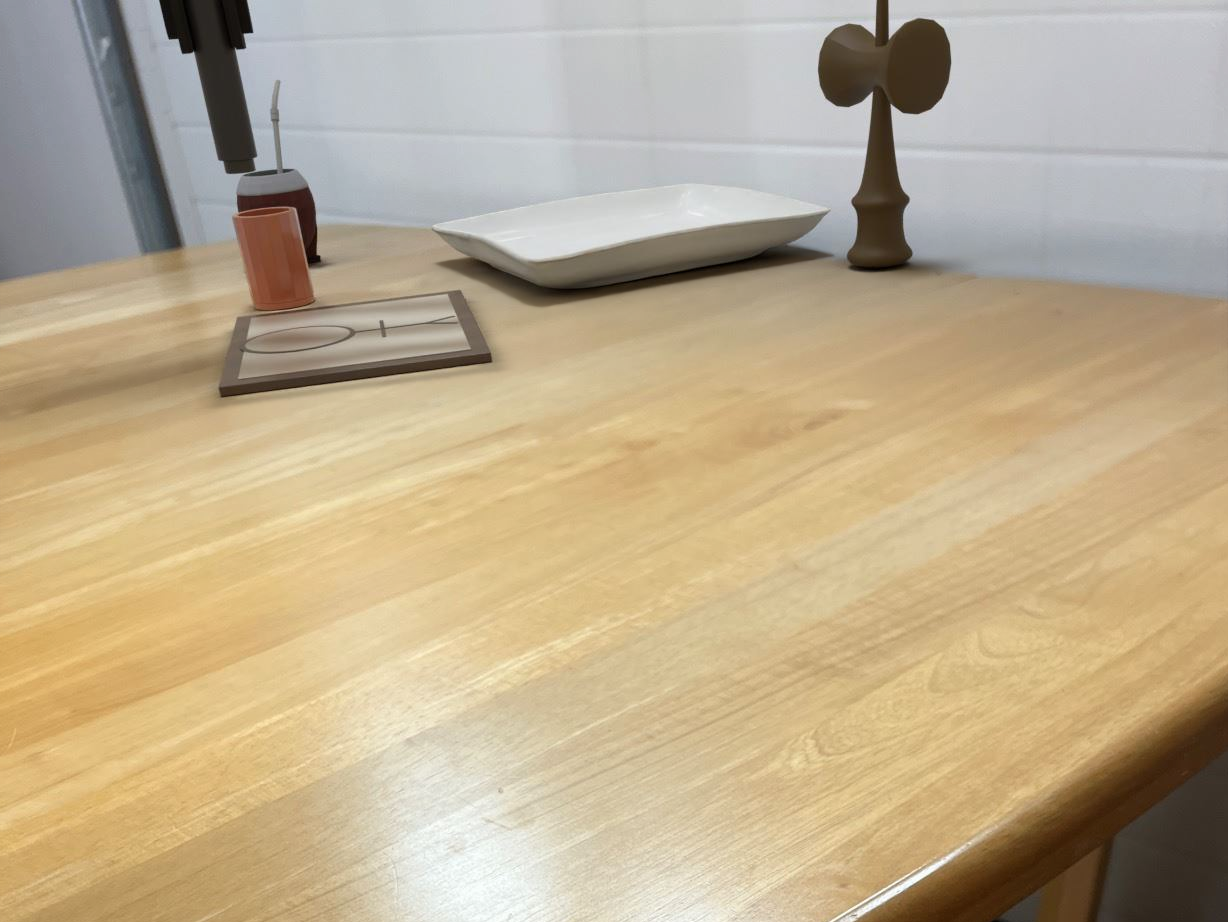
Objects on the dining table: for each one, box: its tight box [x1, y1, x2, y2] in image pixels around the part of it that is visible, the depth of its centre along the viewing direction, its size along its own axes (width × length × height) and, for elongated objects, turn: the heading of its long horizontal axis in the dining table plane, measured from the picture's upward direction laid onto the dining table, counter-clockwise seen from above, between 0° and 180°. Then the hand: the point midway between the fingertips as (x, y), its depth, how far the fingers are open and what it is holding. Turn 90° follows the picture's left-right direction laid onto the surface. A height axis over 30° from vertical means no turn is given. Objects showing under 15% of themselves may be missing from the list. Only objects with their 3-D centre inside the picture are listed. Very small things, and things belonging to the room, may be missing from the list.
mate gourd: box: [235, 79, 322, 264], centre depth 126 cm, size 8×8×15 cm
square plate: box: [431, 182, 831, 290], centre depth 118 cm, size 27×27×4 cm
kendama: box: [817, 0, 952, 268], centre depth 102 cm, size 6×10×20 cm, turn 31°
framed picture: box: [218, 289, 493, 397], centre depth 99 cm, size 24×18×1 cm
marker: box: [183, 0, 258, 175], centre depth 87 cm, size 3×3×12 cm
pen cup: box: [231, 207, 316, 311], centre depth 112 cm, size 5×5×7 cm
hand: (214, 47), depth 87 cm, fingers closed on marker, 2 cm apart
